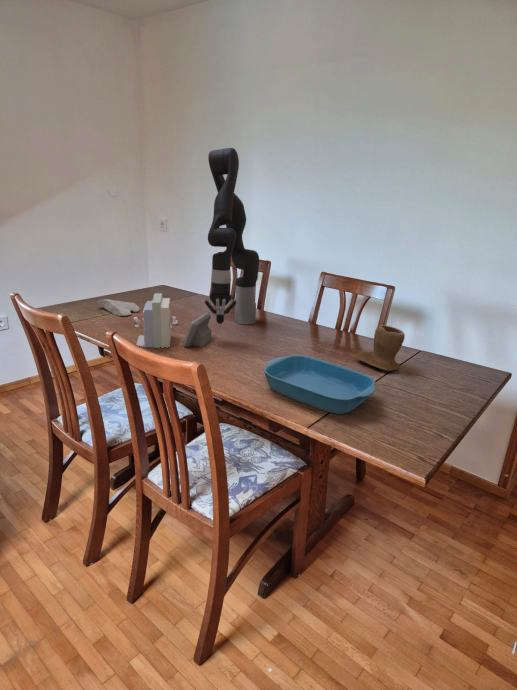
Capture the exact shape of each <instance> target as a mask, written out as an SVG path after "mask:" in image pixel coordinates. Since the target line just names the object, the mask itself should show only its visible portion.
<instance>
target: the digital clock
mask: <svg viewBox="0 0 517 690" xmlns="http://www.w3.org/2000/svg"><path fill="white" fill-rule="evenodd" d="M211 317H212V314H210V313H209V312H205V313H204V314H202V315H200V316H199V317H198V318H196V319H194V320H193V321H191V322H190V325H189V327H188V329H187V333H186V335H185V337H184V342H183V345H184V347H187V348H189V347H191V346H194V347H202V348H203V347H204V346H205V345H207V344H208V343H209V342H211V341H212V329H211V328H210V327H209V323H210V320H211Z"/></svg>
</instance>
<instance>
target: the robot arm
mask: <svg viewBox="0 0 517 690" xmlns="http://www.w3.org/2000/svg"><path fill="white" fill-rule="evenodd" d="M207 157H208V165H209V169H210V173H211V175H212V176H211V177H212V178H213V182H214V185H215V188H216V191H217V194H216V197H215V198H214V204H213V218H212V222H211V224H210V225H211V226H210V228H209V231H208V233H207V241H208V244H209V245H210V246H211V247H215V248H216V247H217V248H226V249H225V250H224V251H221V252H216V253H213V254H212V256H211V257H212V258H211V259H212V260H211V261H212V262H211V274H210V275H211V276H210V277H211V278H210V279H211V280H210V281H211V282H210V283H211V284H210V289H211V290H210V294H209V298H207V299H205V300H204V304H205V306H206V307H207V308H208V309H209V311H211V313H212V314H214V315H216V319H215V320H216V323H217V324H218V325H222V324H223V323H224V320H225V315H228V314H229V313H230V312H231V311H232V309H233V308H234V322H235V324H238V325H252V324H256V316H257V313H256V312H257V302H256V296H257V295H256V294H257V293H256V291H257V281H258V280H259V279H258V278H259V268H260V256H259V253H258V251H256V250H253V249H247V248H245V245H244V241H243V233H244V230H245V228H246V224H247V215H246V211H245V210H246V209H245V207H244V203H243V201H242V199H240V198H239V196H238V195H237V194H236V193H235V190H236V185H237V180H238V173H239V168H240V167H239V166H240V160H239V154H238V152H237V150H236V149H235V148H234V147H225V148H220V149H214V150H211V151H209V153H208V156H207ZM224 175H226V178H225V177H224ZM222 226H225V227H222ZM231 261H232V264H233V266H234V268H236V269H237V270H242V271H243V275H242V276H239V277H237V278H236V279H235V290H234V291H235V293H234V294H235V297H234V299H233V298H232V295H231V283H232V282H231V281H232V276H231V275H232V274H231V272H232V271H231V265H232V264H231ZM212 303H213V305H214V306H215V308H214V307H213V305H212ZM228 304H229V305H228ZM227 305H228V306H227ZM226 306H227V307H226Z"/></svg>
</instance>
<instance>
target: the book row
mask: <svg viewBox="0 0 517 690" xmlns="http://www.w3.org/2000/svg"><path fill="white" fill-rule="evenodd" d="M142 318H143V320H142V321H143V323H142V324H143V325H142V326H143V329H144V330H143V334H140V335H139V336H138V338H137V342H136V344H135V346H136V345H138V346H140V347H139V348H147V347H148V348H154V349H161V348H162V349H165V348H164V347H166V349H167V348H168V347H170V348H171V339H172V329H171V325H172V322H171V320H172V319H171V318H172V317H171V298H170V297H166V298H165V297H163V293H161V292H160V293H158V292H157V293H154V294H153V298H152V300H147V301H146V303H144V307H143V311H142ZM160 347H161V348H160ZM168 349H169V348H168Z"/></svg>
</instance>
